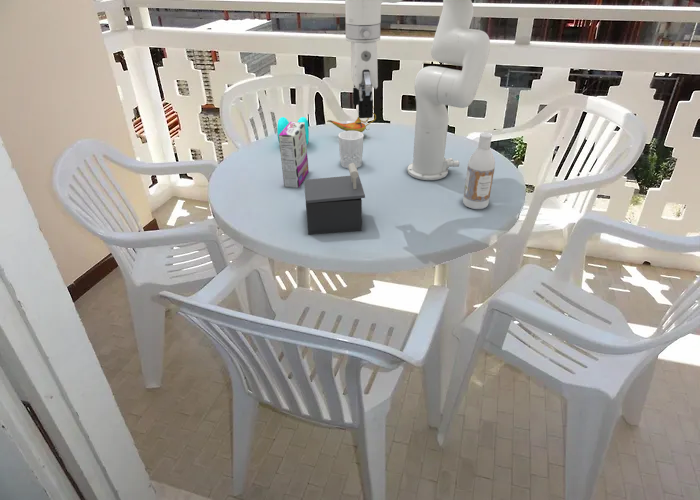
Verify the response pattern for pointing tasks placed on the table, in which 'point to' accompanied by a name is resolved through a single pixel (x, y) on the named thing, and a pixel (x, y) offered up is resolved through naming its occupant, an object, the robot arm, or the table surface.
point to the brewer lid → (334, 187)
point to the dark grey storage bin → (334, 216)
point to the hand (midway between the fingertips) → (362, 110)
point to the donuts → (284, 122)
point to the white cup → (351, 148)
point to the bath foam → (479, 175)
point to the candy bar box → (294, 154)
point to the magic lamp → (353, 125)
